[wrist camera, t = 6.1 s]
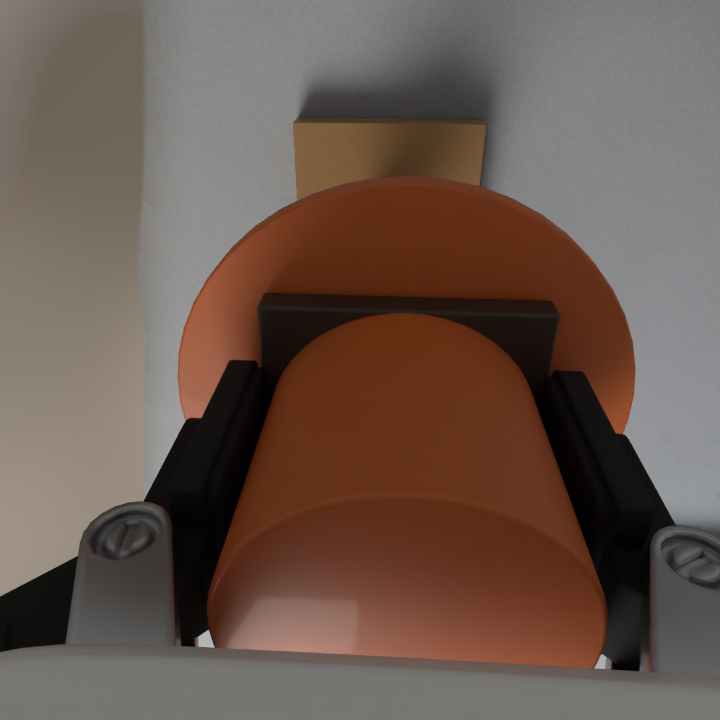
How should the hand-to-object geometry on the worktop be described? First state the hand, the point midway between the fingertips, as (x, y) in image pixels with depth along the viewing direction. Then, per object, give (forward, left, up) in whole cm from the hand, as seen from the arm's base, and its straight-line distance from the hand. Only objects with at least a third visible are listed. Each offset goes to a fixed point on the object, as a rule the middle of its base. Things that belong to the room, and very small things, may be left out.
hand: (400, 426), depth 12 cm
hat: (0, 0, -1) cm, 1 cm away
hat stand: (0, 0, -17) cm, 17 cm away
